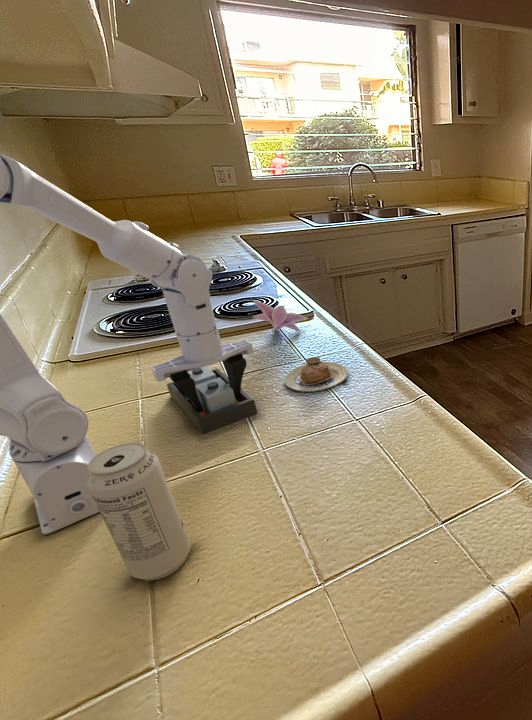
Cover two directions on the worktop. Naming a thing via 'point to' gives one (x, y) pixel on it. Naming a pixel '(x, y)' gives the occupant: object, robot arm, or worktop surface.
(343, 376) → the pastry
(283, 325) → the lily
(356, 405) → the worktop surface
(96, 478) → the energy drink can
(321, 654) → the worktop surface
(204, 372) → the grey block with knob
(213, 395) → the grey knobbed block
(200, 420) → the tray
